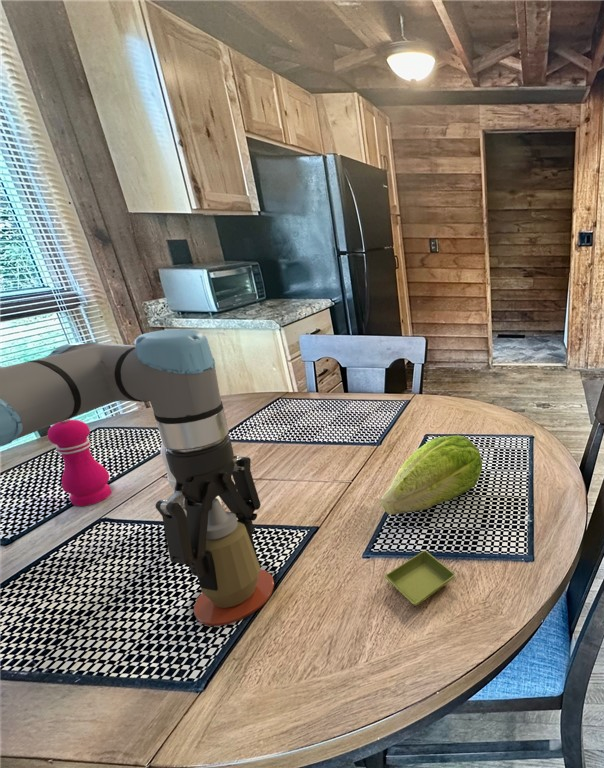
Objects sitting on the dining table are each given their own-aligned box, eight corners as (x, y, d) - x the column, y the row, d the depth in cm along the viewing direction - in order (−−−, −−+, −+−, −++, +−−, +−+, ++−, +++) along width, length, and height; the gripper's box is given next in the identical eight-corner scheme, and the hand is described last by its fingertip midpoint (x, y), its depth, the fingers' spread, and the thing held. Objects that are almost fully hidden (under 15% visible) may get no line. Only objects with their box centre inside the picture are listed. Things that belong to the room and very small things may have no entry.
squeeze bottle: (202, 623, 63) (174, 524, 57) (208, 585, 69) (183, 493, 63) (264, 602, 66) (244, 508, 60) (263, 568, 73) (245, 480, 67)
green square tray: (456, 584, 72) (456, 574, 71) (414, 615, 66) (414, 605, 65) (425, 558, 77) (425, 549, 77) (384, 585, 71) (383, 575, 70)
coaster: (186, 598, 67) (185, 595, 67) (259, 561, 75) (259, 559, 75) (206, 640, 61) (205, 637, 61) (285, 595, 69) (284, 592, 68)
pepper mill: (82, 511, 87) (49, 424, 80) (60, 503, 89) (27, 418, 82) (122, 492, 93) (95, 410, 87) (101, 485, 96) (73, 405, 89)
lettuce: (356, 478, 90) (382, 474, 79) (444, 430, 106) (476, 421, 94) (385, 536, 91) (415, 540, 79) (468, 480, 107) (502, 477, 95)
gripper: (231, 411, 68) (255, 527, 76) (99, 472, 50) (149, 616, 58) (271, 416, 67) (292, 533, 75) (151, 481, 49) (195, 627, 57)
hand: (229, 569), depth 66 cm, fingers closed on squeeze bottle, 6 cm apart
